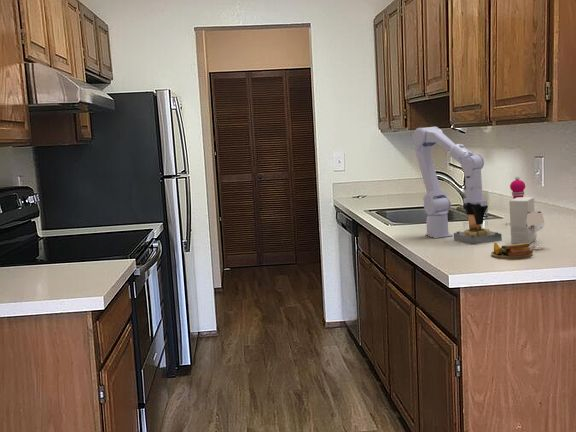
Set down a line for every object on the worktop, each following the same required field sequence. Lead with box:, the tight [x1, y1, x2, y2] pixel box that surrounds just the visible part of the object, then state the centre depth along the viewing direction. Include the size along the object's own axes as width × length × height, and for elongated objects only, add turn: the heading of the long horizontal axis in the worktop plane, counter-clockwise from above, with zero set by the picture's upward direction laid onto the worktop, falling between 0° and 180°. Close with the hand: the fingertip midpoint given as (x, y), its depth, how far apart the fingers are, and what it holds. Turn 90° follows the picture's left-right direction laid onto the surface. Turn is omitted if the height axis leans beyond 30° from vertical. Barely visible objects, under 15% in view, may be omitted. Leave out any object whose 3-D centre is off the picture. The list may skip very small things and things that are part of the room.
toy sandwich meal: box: [491, 242, 534, 260], centre depth 191 cm, size 12×14×5 cm
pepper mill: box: [509, 176, 526, 199], centre depth 252 cm, size 7×7×20 cm
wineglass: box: [525, 210, 545, 250], centre depth 199 cm, size 6×6×12 cm
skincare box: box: [509, 196, 535, 245], centre depth 211 cm, size 8×7×16 cm
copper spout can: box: [467, 214, 482, 230], centre depth 224 cm, size 4×4×7 cm
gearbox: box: [453, 227, 503, 245], centre depth 226 cm, size 17×12×4 cm
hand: (476, 223), depth 224 cm, fingers closed on copper spout can, 4 cm apart
